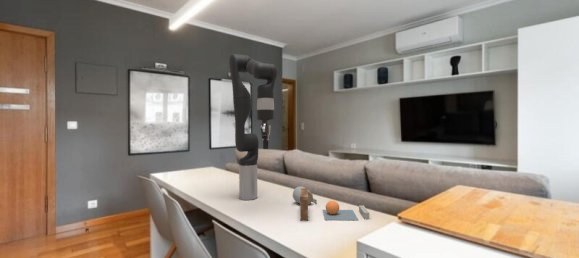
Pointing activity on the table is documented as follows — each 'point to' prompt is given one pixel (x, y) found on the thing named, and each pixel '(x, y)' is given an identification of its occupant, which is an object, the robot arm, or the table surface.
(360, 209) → the stopper
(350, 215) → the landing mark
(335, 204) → the ball
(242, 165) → the robot arm
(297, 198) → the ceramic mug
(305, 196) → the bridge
